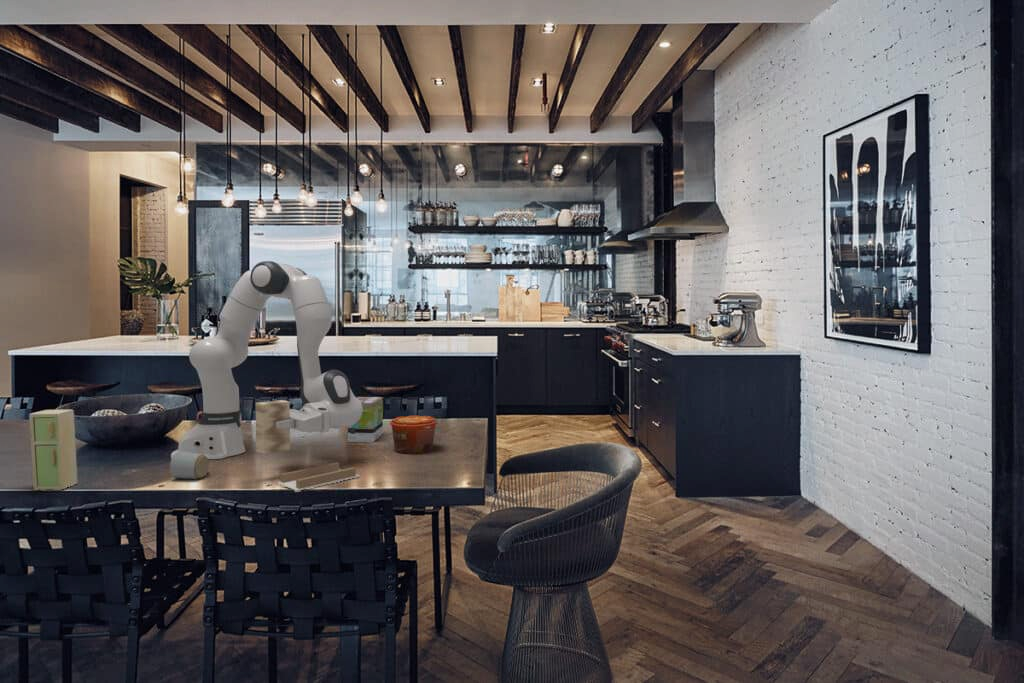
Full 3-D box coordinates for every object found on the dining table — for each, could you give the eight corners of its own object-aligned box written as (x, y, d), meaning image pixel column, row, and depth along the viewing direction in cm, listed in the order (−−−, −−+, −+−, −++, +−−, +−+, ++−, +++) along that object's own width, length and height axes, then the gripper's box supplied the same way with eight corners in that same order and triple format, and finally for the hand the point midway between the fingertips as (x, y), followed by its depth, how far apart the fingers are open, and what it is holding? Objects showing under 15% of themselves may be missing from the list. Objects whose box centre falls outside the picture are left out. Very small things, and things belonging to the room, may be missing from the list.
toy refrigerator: (30, 491, 177) (26, 413, 176) (49, 484, 184) (46, 409, 183) (60, 491, 177) (56, 413, 176) (78, 484, 184) (75, 409, 183)
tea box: (374, 442, 238) (374, 402, 237) (347, 442, 238) (346, 402, 237) (383, 434, 253) (383, 396, 252) (357, 434, 253) (356, 396, 252)
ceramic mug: (196, 482, 186) (196, 455, 186) (169, 481, 187) (168, 454, 187) (217, 473, 197) (216, 447, 197) (190, 472, 198) (190, 446, 197)
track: (296, 492, 177) (296, 481, 177) (276, 484, 184) (276, 474, 184) (359, 477, 192) (359, 467, 191) (338, 470, 199) (338, 461, 199)
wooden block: (263, 454, 186) (263, 404, 185) (256, 451, 189) (255, 403, 188) (290, 449, 192) (289, 401, 191) (282, 447, 195) (281, 400, 194)
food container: (410, 443, 238) (410, 413, 237) (446, 448, 230) (446, 417, 229) (380, 451, 224) (379, 420, 224) (417, 457, 216) (417, 425, 216)
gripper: (295, 402, 206) (252, 407, 196) (331, 411, 193) (287, 417, 182) (295, 422, 207) (253, 428, 197) (331, 432, 193) (287, 439, 183)
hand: (270, 423), depth 189 cm, fingers closed on wooden block, 4 cm apart
